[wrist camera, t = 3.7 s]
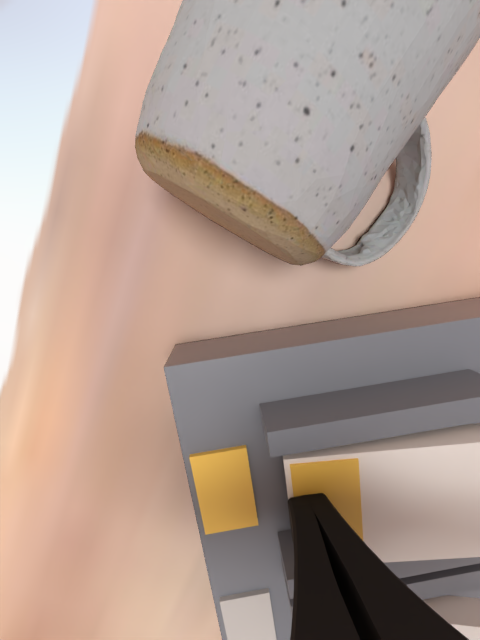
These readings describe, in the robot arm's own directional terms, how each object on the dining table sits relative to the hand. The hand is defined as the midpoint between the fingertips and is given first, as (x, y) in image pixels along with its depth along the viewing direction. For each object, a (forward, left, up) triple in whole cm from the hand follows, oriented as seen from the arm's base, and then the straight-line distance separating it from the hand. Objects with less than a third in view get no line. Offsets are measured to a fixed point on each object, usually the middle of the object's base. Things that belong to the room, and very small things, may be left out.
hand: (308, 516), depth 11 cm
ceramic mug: (-2, -13, -5) cm, 15 cm away
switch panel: (-3, +8, -5) cm, 10 cm away
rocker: (-3, 0, 0) cm, 3 cm away
